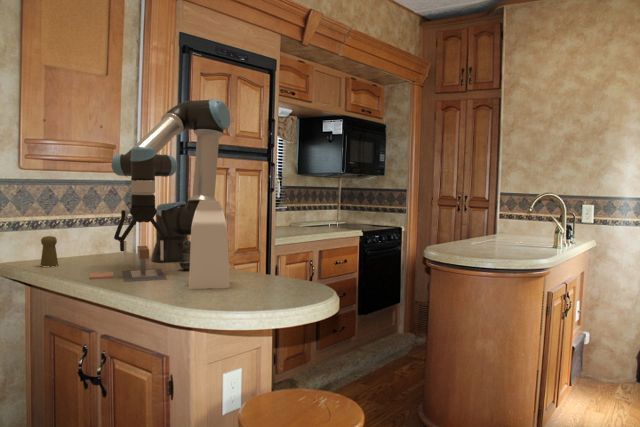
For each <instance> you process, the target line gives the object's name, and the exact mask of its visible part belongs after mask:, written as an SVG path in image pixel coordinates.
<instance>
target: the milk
mask: <svg viewBox="0 0 640 427" xmlns="http://www.w3.org/2000/svg"><path fill="white" fill-rule="evenodd" d="M228 240H229V237H228V226H227V220H226V216H225V213H224V210H223V206H222V204H221V202H220V200H216V201H199V203H198V206H197V208H196V210H195V214H194V217H193V221H192V226H191V235H190V242H191V246H190V270H189V274H188V275H189V279H188V290H205V289H206V290H207V288H213V289H230V288H231V285H230V284H231V282H230V261H229V260H230V259H229V241H228ZM228 287H229V288H228Z"/></svg>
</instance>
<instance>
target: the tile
mask: <svg viewBox="0 0 640 427" xmlns="http://www.w3.org/2000/svg"><path fill="white" fill-rule="evenodd" d="M101 279H102V280H103V279H104V280H105V279H114V272H111V271H109V272H90V273H89V280H101Z"/></svg>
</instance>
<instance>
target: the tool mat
mask: <svg viewBox="0 0 640 427" xmlns="http://www.w3.org/2000/svg"><path fill="white" fill-rule="evenodd" d="M137 270H138V269H132V270H131V269H130V270H129V269H128V270H122V271H121V272H122V277H123V282H124V283H131V282H150V281H166V280H167V281H168V280H169V279H168V278H167V277H166V274H165V273H164V272H163V270H162V269H161V268H153V269H147V270H156V272H157V274H158V278H146V279H132V277H131V273H130V271H137Z"/></svg>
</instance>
